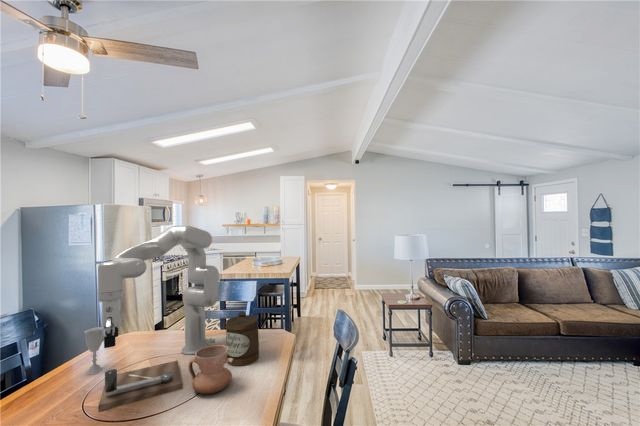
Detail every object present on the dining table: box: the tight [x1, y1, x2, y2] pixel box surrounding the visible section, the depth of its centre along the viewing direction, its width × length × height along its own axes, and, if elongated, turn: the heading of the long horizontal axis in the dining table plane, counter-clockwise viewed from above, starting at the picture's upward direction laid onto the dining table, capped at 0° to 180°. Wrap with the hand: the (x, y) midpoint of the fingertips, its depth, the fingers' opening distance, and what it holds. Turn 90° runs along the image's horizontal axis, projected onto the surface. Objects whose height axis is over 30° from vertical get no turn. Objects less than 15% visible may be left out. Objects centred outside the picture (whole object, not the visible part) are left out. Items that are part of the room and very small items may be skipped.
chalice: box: [83, 326, 105, 376], centre depth 128 cm, size 7×7×18 cm
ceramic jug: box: [188, 344, 233, 395], centre depth 114 cm, size 18×14×14 cm
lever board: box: [97, 359, 183, 412], centre depth 116 cm, size 26×22×2 cm
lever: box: [104, 368, 173, 396], centre depth 111 cm, size 22×4×8 cm, turn 119°
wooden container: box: [225, 310, 260, 367], centre depth 137 cm, size 15×15×22 cm
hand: (111, 342), depth 107 cm, fingers open, 9 cm apart
